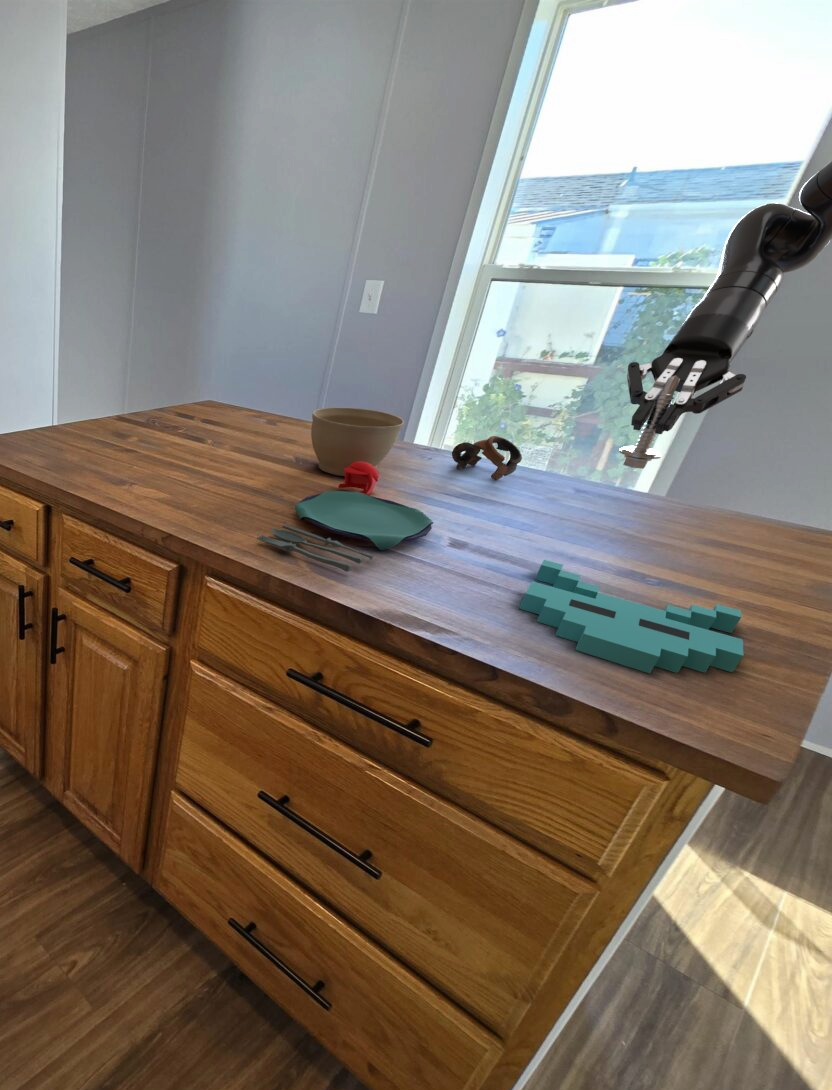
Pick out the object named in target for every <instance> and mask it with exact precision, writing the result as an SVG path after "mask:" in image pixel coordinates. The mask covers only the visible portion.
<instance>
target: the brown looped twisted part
mask: <svg viewBox="0 0 832 1090" xmlns="http://www.w3.org/2000/svg"><path fill="white" fill-rule="evenodd" d="M493 444H496V445H497V446H496V447H495V446H494V445H493ZM498 451H503V452H509V459H508V461H507V462H506V463H504V461H505V460H506V457H505V455H503V454H501V453H500V452H498ZM480 452H481V454H482V455H483V456H484V457H485V458H486V459H487V460H488V461H490V462H491V464H493V466H495V467H497V468H496V469H495V471H494V472H493V473H492V474H491V475H490V479H492V480H494V481H498V480H500V479H502V478H503V477H507V476H509V475H511V474H513V473H514V472H515V471H516V470H517V467H518V464H519V463H521V462H522V460H523V457H522V456H523V455H522V454H521V451H520V449H519V448H518V447H517V446H516V445H515V444H514V443H513V442H512V441H510V440H508V439H506V438H504V437H501V436H498V435H491V436H490V437H489V438H487V439H480V440H478V441H476V442H474V443H471V442H466V441H464V442H461V443H458V444H457V445H455V446H454V448H452V451H451V457H452V460H453V461H454V462H455V463H456V465H455V469H457V470H459V469H461V470H465V469H466V468H467V466H468V465H469V466H472V467H475V466H476V465H477V463H479V462H480V461H481V460H482V459H483V458H482V456H479V453H480ZM462 453H463V454H462Z"/></svg>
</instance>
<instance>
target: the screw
mask: <svg viewBox="0 0 832 1090" xmlns="http://www.w3.org/2000/svg"><path fill="white" fill-rule="evenodd" d="M679 381H680V378H679V377H677V376H676V375H675V376H672V377H669V378H668V380H667V382H666V384H665V386H664V388H663V390H662V393H661V394H659V395H660V396H659V397H658V398H657V401H656V403H655V406H654V407H653V410H652V411H650V412H651V415H648V416H649V418H648V419H647V421H646V422H645V424H644V425H645V426H644V427H643V429H642V431H641V435H639V438H638V439H637V443H635V445H636V446H635V445H626V446H623V447H620V448H619V449H618V453H620V454H622V455H623V456H624V458H625V459H624V461H623V464H622V465H623V466H625V467H629V468H631V469H645V467H646V466H647V464H648V462H650V461H652V460H658V459H659V460H660V458H662V456H663V455H662V454H661V452H660V451H659V450H656V449H654V448H652V447H651V446H653V445H654V443H653V442H654V441H655V440H656V439H655V438H657V434H656V433H655V430H656V426H657V424H658V422H659V421H660V419H661V418H662V416H663V415H664V413H665V412H666V410H667V409H668V408H669V406H670V405H671V404H673V400H674V399H675V397H674V395H676V393H675V392H676V391H675V390H676V388H677V385H678V383H679Z"/></svg>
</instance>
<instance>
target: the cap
mask: <svg viewBox="0 0 832 1090" xmlns="http://www.w3.org/2000/svg"><path fill="white" fill-rule="evenodd" d="M344 471H345V476H344V482H343V483H339V484H338V489H346V488H353V489H354V488H355V489H360V491H358V492H359V493H363V494H366V495H368V496H371V495H372V494H373V492H374V489H375V487H376V485H377V483H378V481H379V479H380V474H379V472H378V469H377V468H376V466H375V467H374V466H372V465H371V464H369V463H367V462H361V461H359V462H353V463H352V464H351V465H349V467H347V468H345V469H344Z"/></svg>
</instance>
